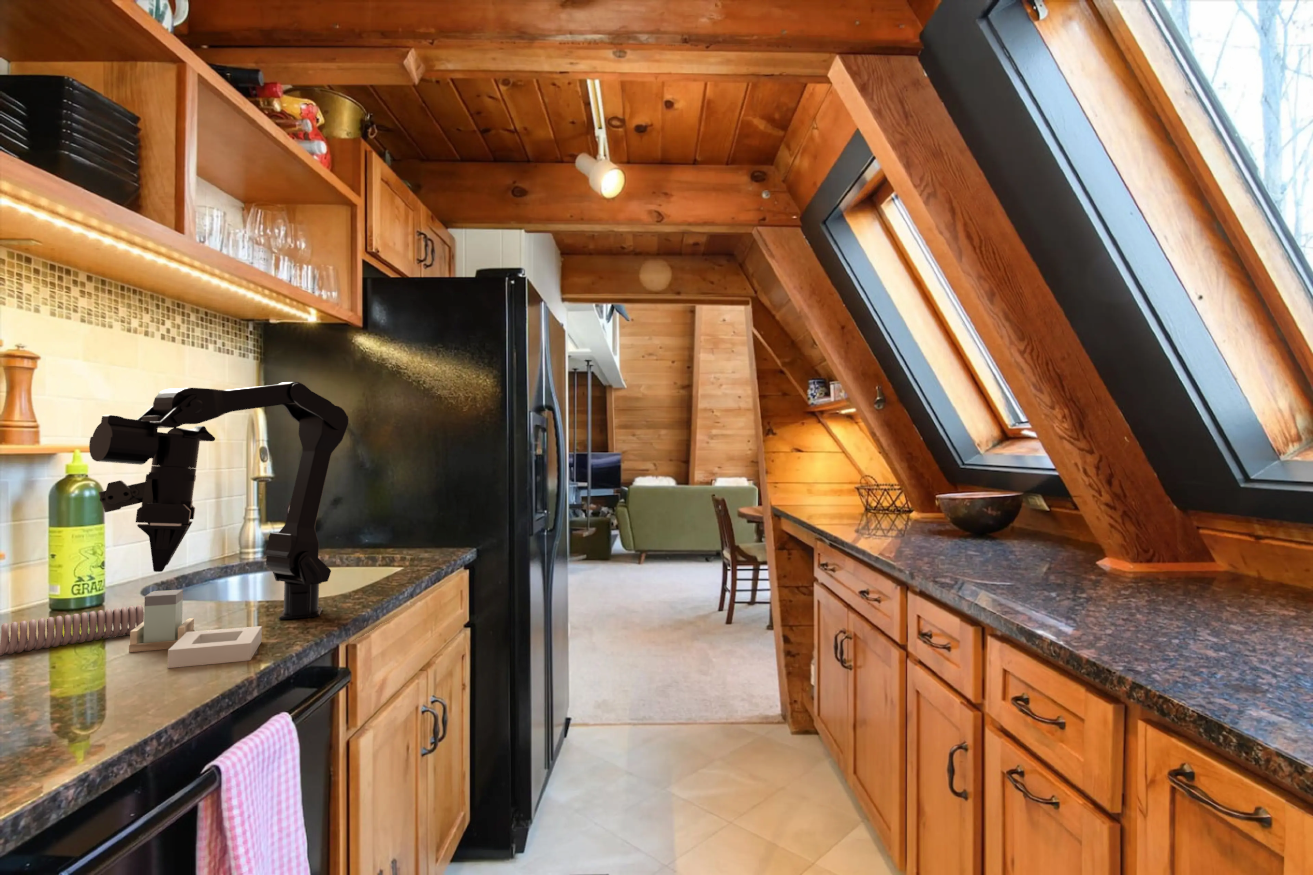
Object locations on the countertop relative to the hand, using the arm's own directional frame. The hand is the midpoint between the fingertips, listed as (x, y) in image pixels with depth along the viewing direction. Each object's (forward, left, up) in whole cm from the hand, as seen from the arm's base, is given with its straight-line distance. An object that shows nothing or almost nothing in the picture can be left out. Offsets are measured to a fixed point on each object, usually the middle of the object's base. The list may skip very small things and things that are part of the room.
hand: (160, 568), depth 102 cm
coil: (-8, -13, -13) cm, 20 cm away
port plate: (+6, +9, -12) cm, 16 cm away
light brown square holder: (-3, 0, -12) cm, 12 cm away
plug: (-3, 0, -12) cm, 12 cm away
